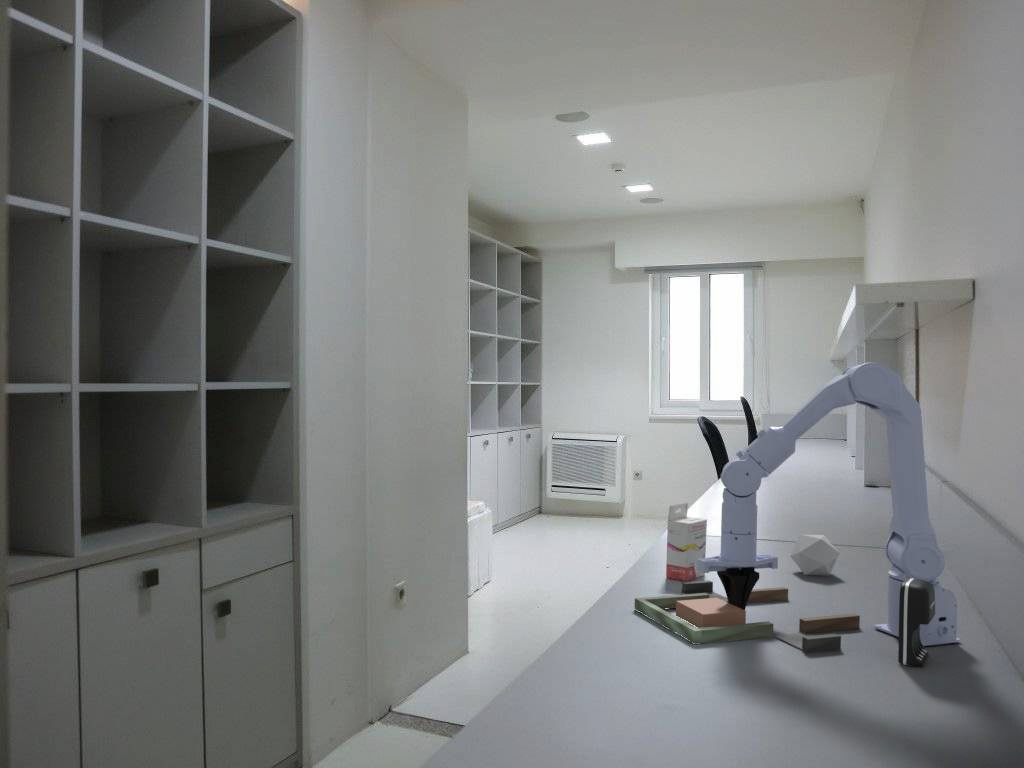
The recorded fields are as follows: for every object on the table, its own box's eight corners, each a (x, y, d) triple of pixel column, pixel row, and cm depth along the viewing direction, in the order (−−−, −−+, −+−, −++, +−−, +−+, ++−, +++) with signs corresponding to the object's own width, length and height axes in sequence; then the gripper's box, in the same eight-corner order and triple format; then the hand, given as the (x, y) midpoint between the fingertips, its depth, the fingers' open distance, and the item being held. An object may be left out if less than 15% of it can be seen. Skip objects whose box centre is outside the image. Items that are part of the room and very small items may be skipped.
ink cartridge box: (687, 582, 150) (689, 508, 151) (665, 578, 154) (667, 505, 154) (706, 575, 157) (708, 504, 157) (684, 571, 160) (686, 501, 160)
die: (832, 584, 155) (852, 543, 158) (793, 560, 157) (813, 519, 160) (816, 589, 163) (835, 549, 166) (778, 566, 164) (797, 527, 168)
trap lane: (897, 643, 116) (898, 630, 116) (725, 662, 106) (725, 647, 106) (757, 587, 148) (757, 577, 148) (613, 597, 138) (614, 586, 138)
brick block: (745, 629, 122) (745, 610, 122) (702, 633, 120) (703, 614, 120) (716, 615, 130) (716, 597, 130) (675, 618, 127) (676, 600, 127)
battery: (927, 671, 104) (929, 588, 104) (897, 665, 106) (899, 583, 106) (935, 658, 110) (937, 579, 110) (906, 652, 112) (908, 574, 112)
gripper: (759, 525, 133) (757, 603, 132) (688, 528, 128) (686, 609, 128) (786, 533, 126) (785, 615, 126) (712, 536, 121) (710, 621, 121)
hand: (737, 613), depth 126 cm, fingers closed
